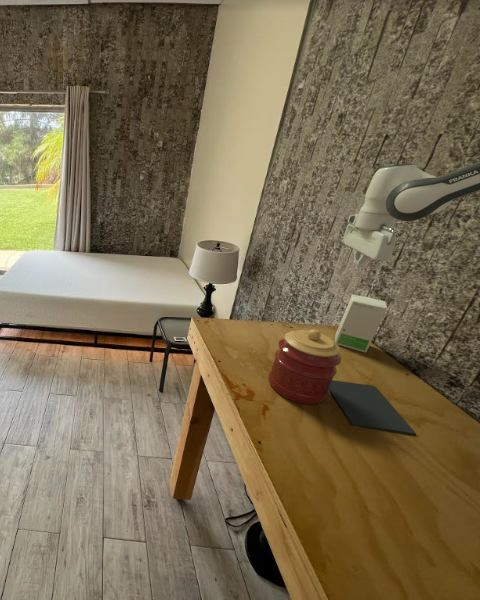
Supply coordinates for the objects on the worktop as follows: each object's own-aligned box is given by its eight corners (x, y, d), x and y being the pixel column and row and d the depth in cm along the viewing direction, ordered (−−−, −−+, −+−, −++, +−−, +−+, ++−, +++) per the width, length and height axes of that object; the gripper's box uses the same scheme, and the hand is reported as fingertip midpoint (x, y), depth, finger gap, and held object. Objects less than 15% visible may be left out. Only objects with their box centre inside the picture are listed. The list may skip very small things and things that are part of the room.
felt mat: (374, 387, 83) (375, 385, 83) (415, 435, 69) (416, 433, 69) (322, 380, 86) (322, 378, 86) (351, 425, 72) (352, 423, 72)
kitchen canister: (327, 385, 84) (351, 327, 77) (323, 413, 75) (348, 351, 68) (272, 366, 92) (289, 312, 84) (262, 390, 83) (279, 332, 75)
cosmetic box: (333, 344, 101) (350, 300, 95) (334, 335, 106) (350, 293, 99) (367, 353, 97) (388, 308, 90) (366, 343, 101) (386, 300, 95)
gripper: (410, 230, 85) (389, 277, 91) (368, 216, 103) (353, 256, 109) (382, 229, 87) (363, 276, 93) (346, 215, 105) (332, 255, 111)
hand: (358, 265), depth 101 cm, fingers closed
